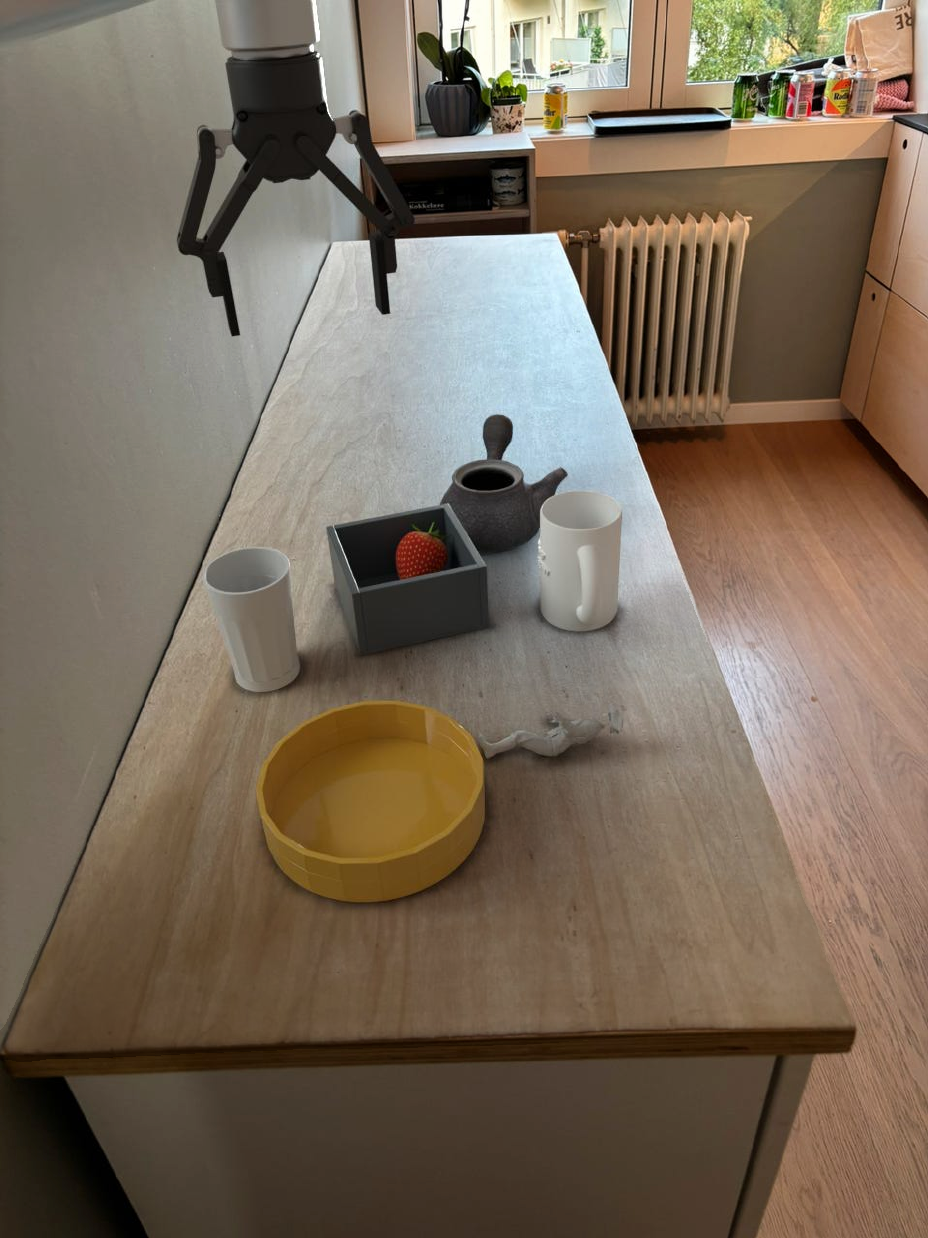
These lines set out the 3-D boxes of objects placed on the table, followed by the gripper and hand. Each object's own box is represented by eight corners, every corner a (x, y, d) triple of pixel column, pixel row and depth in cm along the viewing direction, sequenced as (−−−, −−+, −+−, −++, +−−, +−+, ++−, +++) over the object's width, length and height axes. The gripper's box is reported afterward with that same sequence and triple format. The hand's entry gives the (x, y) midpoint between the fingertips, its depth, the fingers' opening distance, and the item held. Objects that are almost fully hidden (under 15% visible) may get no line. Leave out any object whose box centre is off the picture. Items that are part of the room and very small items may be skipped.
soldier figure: (481, 736, 89) (601, 681, 89) (503, 786, 89) (624, 730, 88) (474, 736, 82) (605, 675, 81) (498, 790, 81) (631, 729, 81)
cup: (322, 675, 96) (304, 573, 89) (247, 708, 92) (222, 604, 85) (286, 637, 101) (267, 537, 94) (214, 666, 98) (188, 565, 91)
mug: (549, 659, 96) (550, 556, 89) (533, 591, 106) (532, 493, 99) (632, 652, 97) (639, 548, 90) (608, 585, 106) (613, 486, 99)
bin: (360, 655, 98) (351, 594, 94) (334, 584, 109) (325, 526, 104) (489, 627, 101) (486, 566, 97) (452, 560, 112) (448, 503, 107)
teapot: (574, 554, 112) (576, 475, 106) (439, 563, 111) (433, 485, 105) (553, 477, 127) (554, 404, 121) (434, 485, 127) (429, 412, 121)
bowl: (284, 930, 72) (274, 890, 69) (253, 766, 86) (244, 728, 84) (515, 866, 76) (514, 826, 73) (450, 719, 90) (447, 681, 87)
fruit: (390, 582, 101) (416, 510, 102) (380, 584, 106) (405, 515, 107) (437, 600, 103) (462, 529, 103) (425, 601, 108) (449, 533, 108)
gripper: (415, 34, 82) (431, 289, 94) (107, 59, 77) (167, 326, 89) (439, 42, 76) (453, 313, 89) (107, 70, 71) (171, 354, 83)
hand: (309, 320), depth 89 cm, fingers open, 13 cm apart
